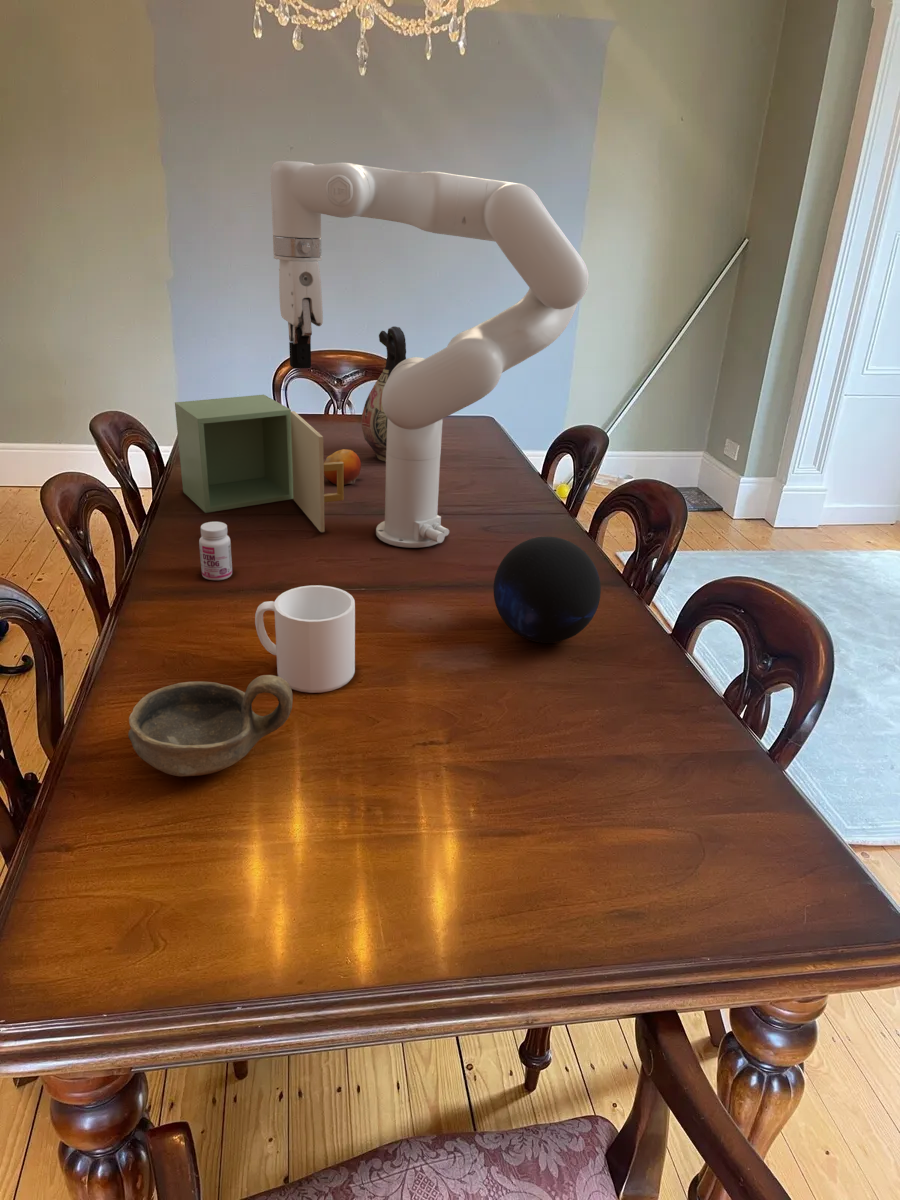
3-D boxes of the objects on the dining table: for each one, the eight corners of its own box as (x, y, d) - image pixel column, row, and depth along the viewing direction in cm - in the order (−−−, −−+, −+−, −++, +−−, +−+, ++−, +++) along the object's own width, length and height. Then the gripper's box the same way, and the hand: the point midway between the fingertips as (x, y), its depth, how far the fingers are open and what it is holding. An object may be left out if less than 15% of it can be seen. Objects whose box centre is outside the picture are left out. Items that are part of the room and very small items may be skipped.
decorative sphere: (614, 640, 121) (629, 545, 114) (548, 674, 112) (560, 573, 105) (535, 602, 131) (545, 513, 124) (468, 631, 121) (475, 536, 114)
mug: (358, 654, 114) (358, 587, 109) (350, 695, 105) (350, 623, 100) (266, 650, 113) (262, 582, 109) (250, 691, 104) (245, 618, 100)
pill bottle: (202, 582, 131) (197, 532, 127) (201, 569, 135) (197, 521, 131) (233, 580, 132) (229, 530, 128) (232, 567, 136) (228, 519, 132)
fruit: (367, 482, 173) (347, 449, 170) (335, 499, 175) (315, 467, 172) (371, 470, 180) (352, 438, 177) (340, 487, 182) (321, 455, 179)
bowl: (147, 720, 98) (137, 647, 93) (298, 719, 99) (296, 647, 95) (116, 798, 85) (103, 718, 81) (289, 795, 87) (286, 716, 83)
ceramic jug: (355, 449, 199) (355, 318, 185) (417, 447, 203) (422, 318, 190) (370, 471, 184) (372, 331, 171) (437, 468, 189) (444, 331, 175)
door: (317, 497, 167) (315, 409, 159) (346, 529, 153) (346, 435, 145) (293, 499, 165) (290, 411, 157) (320, 532, 151) (318, 437, 143)
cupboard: (293, 499, 166) (291, 409, 158) (205, 513, 157) (197, 418, 149) (267, 480, 176) (264, 394, 168) (183, 492, 166) (174, 402, 158)
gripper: (334, 254, 127) (335, 376, 135) (308, 245, 139) (310, 358, 147) (285, 253, 124) (289, 377, 132) (263, 244, 136) (268, 359, 144)
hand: (300, 367), depth 140 cm, fingers closed
